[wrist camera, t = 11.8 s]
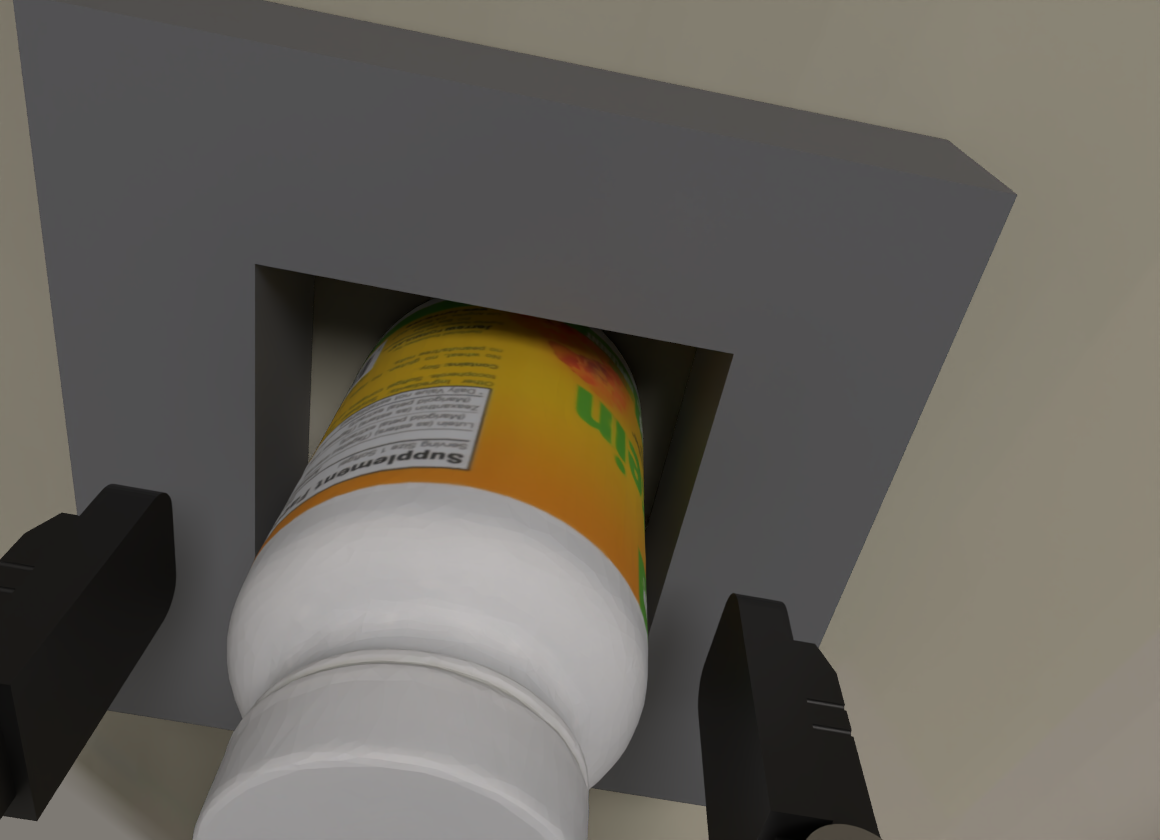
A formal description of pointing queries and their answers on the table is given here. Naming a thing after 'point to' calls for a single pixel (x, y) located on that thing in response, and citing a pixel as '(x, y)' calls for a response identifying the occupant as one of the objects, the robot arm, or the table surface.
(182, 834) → the table surface
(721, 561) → the socket holder
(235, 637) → the supplement bottle
